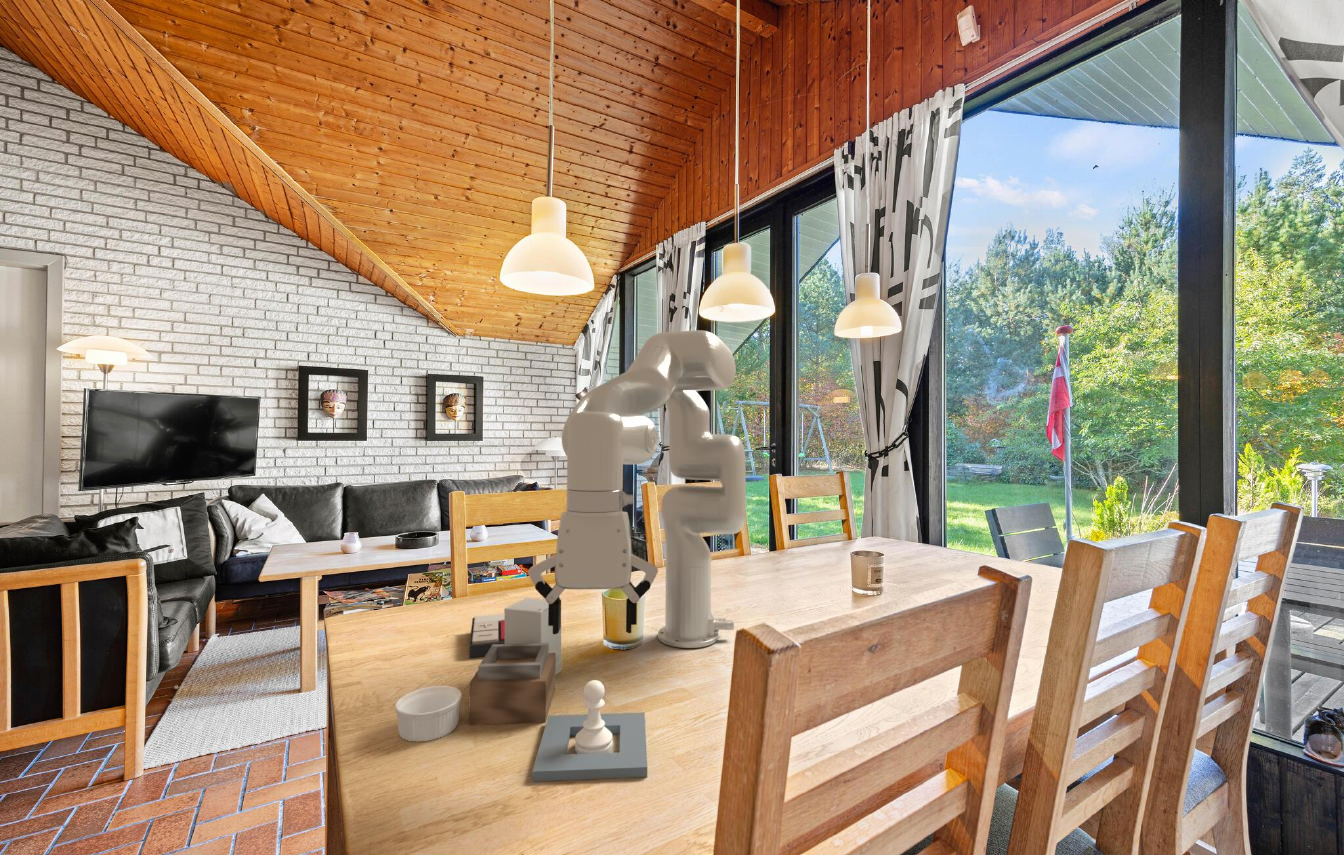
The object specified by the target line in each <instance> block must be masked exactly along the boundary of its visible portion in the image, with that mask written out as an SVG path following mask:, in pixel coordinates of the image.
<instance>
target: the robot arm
mask: <svg viewBox="0 0 1344 855" xmlns="http://www.w3.org/2000/svg"><path fill="white" fill-rule="evenodd" d="M641 347H642V348H641V349H640V350H639V352H638V353H637V355H636V356H635V359H634V360H633V362H632V363H631V365H630V366H629V367H628V369H627V371H625V372H623V373H621V374H619V375H617V376H615V377H613V378H611V379H609V380H607V381H606V382H603V383H602V384H600V385H598V386H596V387H594V388H593V389H591V390H589V391H588V392H587V393H586V394H584V395H583V396H582V397H581V398H580V399H579V400H578V402H577V403H576V405H575V406H574V407H573V409H572V411H571V412H570V414H568V417H567V418H566V421H565V423H564V426H563V428H562V429H563V430H562V433H561V446H562V450H563V451H564V453H565V455H566V458H567V459H566V461H567V462H566V465H567V466H566V468H567V469H566V510H565V511H562V512H561V516H560V519H559V523H558V524H559V526H558V530H557V538H556V550H555V554H554V555H552V556H550V557H548V558H546V559H544V560H542V561H540V562H538V563H537V564H534V565H533V566H531V567H530V568H529V569H528V571H527V573H528V576H529V578H530V580H531V582H532V584H533V585H534V588H535V591H537V592H538V593H539V595H541V597H543V599H546V602H547V603H548V604H549V608H548V626H553V634H557V633H559V630H560V628H561V629H562V599H561V598H560V595H562V594H563V592H564V591H565V590H618V589H620V590H621V591H622V592H623V593H624V595H625V596H626V597H627V598H626V599H625V600H626V606H625V607H626V609H625V616H626V617H625V623H626V624H625V625H626V626H625V633H627V634H632V626H635V625H637V624H638V623H637V621H638V619H637V618H638V612H637V611H638V609H637V608H638V602H639V601H640V599H641V598H642V597H643V596H644V595H645V594H646V593H647V592H648V591H649V590H650V588H651V586H652V584H654V583H653V582H654V580H655V578H656V577H657V575H658V573H659V570H658V569H659V568H658V567H657V566H656V565H655V564H652V563H650V562H649V561H646V560H645V559H643V558H641V557H639V556H636V555H635V554H633V553H632V534H631V526H630V519H629V515H628V514H629V513H628V512H627V511H623V508H625V506H628V505H633V504H634V494H628V493H625V491H623V489H624V487H623V486H624V484H623V482H624V481H623V480H624V476H623V475H624V465H640V464H644V463H646V462H647V461H649V460H651V459H652V458H653V457H654V455H655V453H656V451H657V450H658V446H659V433H658V430H657V427H656V424H654V422H653V421H652V420H651V419H650V418H649V417H647V416H645V415H646V414H648V413H651V412H653V411H656V410H659V409H661V408H662V407H663V406H664V405H666V407H667V410H668V416H669V417H668V418H669V422H668V423H669V425H668V426H669V427H668V428H669V430H668V431H669V432H668V433H669V436H668V439H669V440H668V441H669V442H668V443H669V444H668V448H669V449H668V456H669V457H668V459H669V460H668V461H669V462H668V463H669V468H670V472H671V474H672V475H673V476H674V477H676V478H679V479H683V480H698V481H699V480H702V481H719V482H720V484H721V486H705V485H702V486H701V485H680V486H679V485H678V486H674V487H671V488H670V489H668V490H667V491H665V492H664V494H663V496H662V499H661V503H660V504H661V505H660V507H661V508H660V511H661V517H662V523H663V529H664V539H665V613H664V614H665V625H664V626H662V627H661V628H660V629H659V630H658V631H657V637H658V640H659V641H660V642H661V643H662V644H664V645H667V646H671V647H674V648H682V649H695V648H696V649H699V648H704V647H708V646H711V645H713V644H715V643H717V641H718V640H719V631H720V630H724V631H734V630H735V624H734V620H733V619H731V620H729V619H727V620H726V617H719V618H715V617H714V616H713V614H712V554H711V550H710V547H709V545H708V543H707V541H705V539H704V537H703V536H702V535H701V534H704V533H705V534H717V535H718V534H719V535H720V534H721V535H734V534H738V533H739V532H741V531H742V530H743V528H744V525H745V521H746V511H747V510H746V507H747V505H746V503H747V502H746V500H747V498H746V495H747V494H746V492H747V491H746V489H747V488H746V486H747V485H746V484H747V479H746V478H747V474H746V473H747V472H746V467H747V466H746V464H747V463H746V461H747V460H746V452H745V451H746V450H745V447H744V444H743V442H742V440H741V438H739V437H738V436H736V435H734V434H727V433H726V434H725V433H724V434H723V433H722V434H721V433H711V431H710V418H711V417H710V416H711V415H710V409H709V407H708V405H707V404H706V402H705V400H704V399H703V397H702V396H701V395H700V394H699V393H698V392H699V391H724V390H726V389H728V388H730V387H731V386H732V384H733V382H734V380H735V377H736V361H735V358H734V355H733V353H732V351H731V350H730V348H729V347H728V346H727V345H726V343H724V342H723V341H722V339H721V338H719V337H718V336H717V335H716V334H714V333H713V332H710V331H708V330H702V329H700V330H699V329H698V330H683V331H681V330H680V331H678V330H677V331H666V332H659V333H656V334H653V335H652V336H650V337H649V338H648V339H647V340H645V343H644V344H643V346H641ZM632 567H634V568H636V569H638V570H640V571H642V572H644V573H645V574H644V577H643V578H642V579H641V581H640V582H639V583H638V584H637V585H636V586H635V585H634V584H633V583H632V580H631V578H632ZM552 568H554V583H555V585H554V586H550V584H549V583H548V582H547V581H546V580H544V576H543V574H542V573H544V572H546V571H548V570H550V569H552Z"/></svg>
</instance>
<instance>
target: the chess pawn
mask: <svg viewBox="0 0 1344 855" xmlns="http://www.w3.org/2000/svg"><path fill="white" fill-rule="evenodd" d="M583 696H584V698H585V700H584V702H583V704H582V705H583V708H585V709H587V714H588V716H587V720H586V721H585V722H584V723H583V727H584V728H583V729H582V730H581V731H580V732H579V733H578V734H577V735H575V738H574V740H575V744H574V750H575V752H576V754H592V753H611V751H612V748H613V734H612V733H611V732H610V731H609V730H608V729H607V728H606V727H604V726H605V722H604V721H603V720H602V719H601V716H600V714H601V708H603V706H605V703H606V702H605V701H604V699H603V698H604V696H605V686H604V684H603V682H601V681H600V680H597V679H592V680H590V681H588V682H587V683H586V684H585V685H584V688H583Z"/></svg>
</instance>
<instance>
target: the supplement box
mask: <svg viewBox="0 0 1344 855" xmlns="http://www.w3.org/2000/svg"><path fill="white" fill-rule="evenodd" d="M548 608H549V604H548V603H547V602H546V599H545V598H535V597H525V598H524V599H521V600H520V601H517V602H515V603H514V604H513V603H512V604H511V605H509V606H507V607H505V608H504V609H503V610H504V613H503V614H505V644H529V643H549V653H556V658H555V676H557V675H558V674H559V673H561V671H562V627H561V628H560V630H559V633H557V634H553V626H548Z"/></svg>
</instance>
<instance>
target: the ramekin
mask: <svg viewBox="0 0 1344 855" xmlns="http://www.w3.org/2000/svg"><path fill="white" fill-rule="evenodd" d="M462 698H463V692H462V691H461V690H460V688H457V687H455V686H450V685H432V686H427V687H422V688H419V689H415V690H413V691H410V692H408V693H406V694H404V695H403V696H401V697H400V698H399V699H398V700H397V701H396V702H395V705H394V710H395V713H396V718H397V719H396V720H397V728H398V729H397V730H398V731H397V732H398V736H399V737H400V738H401V737H402V738H401V739H403V740H404V739H406V740H405V741H407V740H408V741H407V742H411V741H425V742H429V740H431V741H433V739H435V740H438V739H440V737H441V738H443V737H445V736H447V735H449V734H450V733H452V732H453V731H454V730H455V729H457V727H458V724H459V722H460V721H459V719H460V708H461V700H462ZM437 738H438V739H437Z"/></svg>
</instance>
